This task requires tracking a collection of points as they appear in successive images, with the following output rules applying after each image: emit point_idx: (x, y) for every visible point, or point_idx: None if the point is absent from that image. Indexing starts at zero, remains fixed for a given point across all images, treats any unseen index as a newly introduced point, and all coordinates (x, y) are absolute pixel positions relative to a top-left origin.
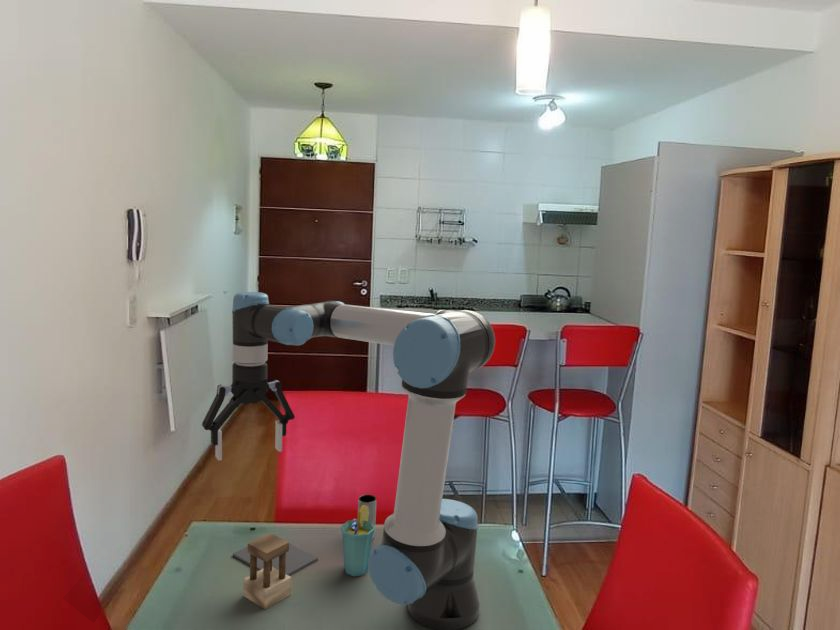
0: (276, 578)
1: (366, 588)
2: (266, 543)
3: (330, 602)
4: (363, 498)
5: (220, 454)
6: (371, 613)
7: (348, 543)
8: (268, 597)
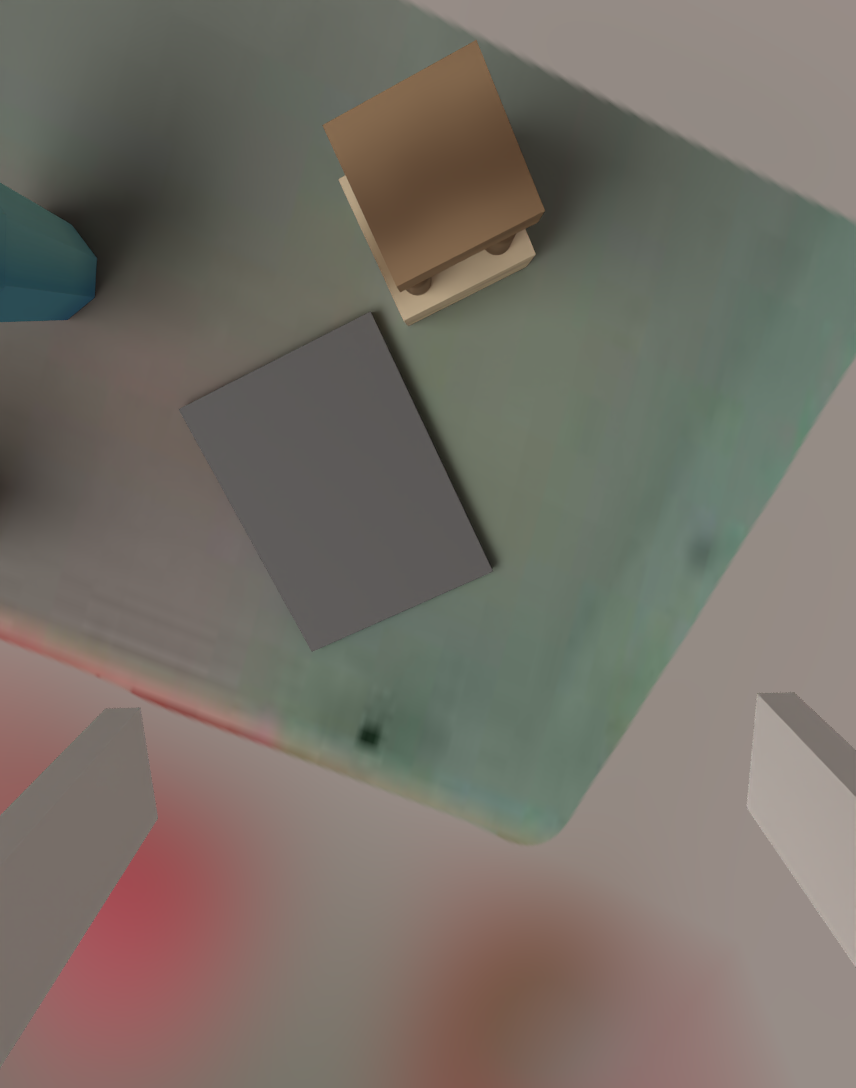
0: None
1: (44, 112)
2: (447, 163)
3: (215, 73)
4: None
5: (804, 727)
6: None
7: (6, 205)
8: None
